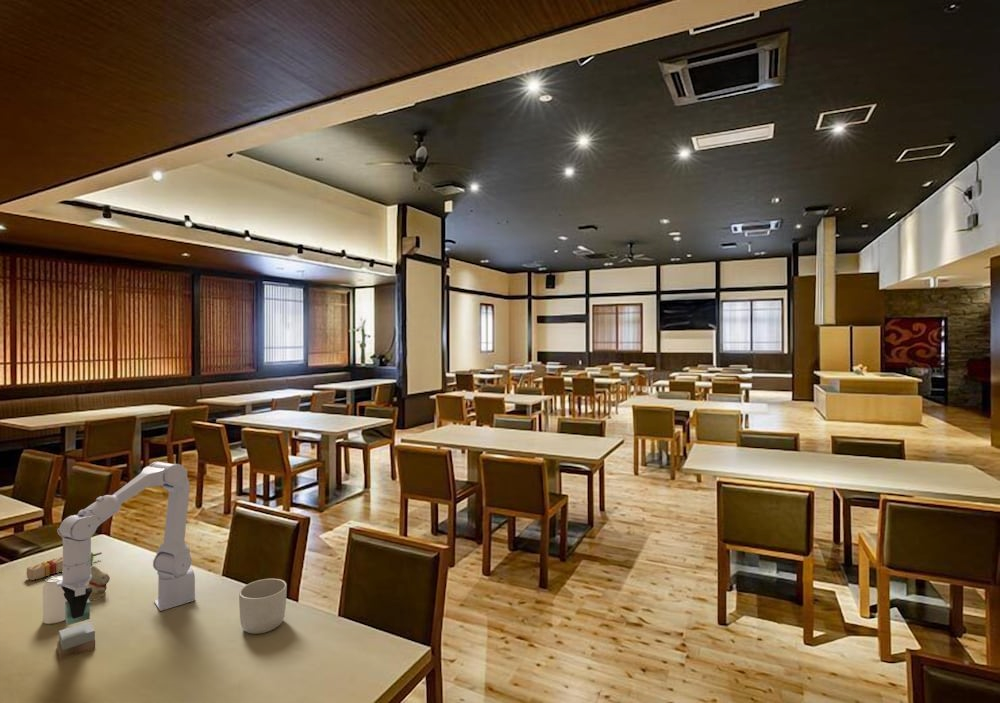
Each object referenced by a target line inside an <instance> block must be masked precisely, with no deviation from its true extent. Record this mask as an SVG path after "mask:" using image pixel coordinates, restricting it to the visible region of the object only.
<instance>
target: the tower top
mask: <svg viewBox="0 0 1000 703" xmlns="http://www.w3.org/2000/svg"><path fill="white" fill-rule="evenodd" d="M58 640H59V642H60V645H61V647H62V650H66V649H69V648H72V647H75V646H78V645H81V644H84V643H87V642H90V641H93V640H95V641H96V629H95V628H94V625H93V624H92V622H91V621H87V622H83V623H80V624H77V625H74V626H70V627H67V628H64V629H61V630H58Z"/></svg>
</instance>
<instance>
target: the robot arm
mask: <svg viewBox="0 0 1000 703" xmlns="http://www.w3.org/2000/svg"><path fill="white" fill-rule="evenodd" d="M159 486H160V487H162V488H163V489H165V490H166V491H167V492H168V497H167V498H168V499H167V505H166V506H167V507H166V518H165V525H164V534H163V543H162V544H160V545H159V546H158V547H157V552H156V555H155V556H154V559H153V560H152V567H153V568H154V570H155V571H157V576H158V578H157V579H158V583H157V584H158V588H157V590H158V591H157V592H158V593H157V599H154V601H153V602H154V603H155V604H154V605H155V606H156V607H157V608H158V610H159V612H161V611H165V610H169V609H171V608H175V607H179V606H181V605H184V604H188V603H190V602H191V603H192V602H195V601H196V597H195V596H196V577H195V576H196V575H195V572H194V570H193V568H191V567H192V556H191V553H190V552H191V549H190V547H189V546H188V544H187V543H186V541H185V537H186V529H187V520H188V519H187V517H188V510H189V509H188V507H189V499H190V486H191V483H190V481H189V478H188V469H187V468H186V467H184V466H183V465H182V464H180V463H169V462H164V461H163V462H162V461H159V460H158V461H154V462H152V463H151V464H149V465H147V466H145V467H143V469H142V471H141V472H140V473H139V474H137V475H136V476H135V477H134V478H133V479H131V480H130V481H128V483H126V484H124V485H123V486H122V487H121V488H119V489H118V490H117V491H115V492H114V493H113V494H105V495H103V496H101V495H100V496H98V497H97V498H96V499H95V502H93V503H91V504H89V505H88V506H87V507H85V508H84V509H80V510H79V511H78V513H77V514H73V515H69V516H67V517H66V518H64V520H62V521H61V523H60V524H59V527H58V528H57V529H56V532H57V534H58V535H59V536H60V537H61V538H62V557H63V572H62V574H63V580H62V581H59V582H57V583H56V585H57V587H60V586H61V588H62V589H63V591H64V592H65V593H64V597H65V598H66V600H67V601H68V603H69V606H70V611H71V615H72V618H73V619H74V618H78V617H81V616H83V614H84V611H85V607H86V603H87V600H88V598H89V596H90V594H91V593H92V590H93V589H92V587H91V588H87V589H86V586H87V584H88V583H89V581H90V580H91V578H92V575H91V567H92V563H91V552H92V537H93V535H95V533H96V531H97V529H98V527H99V526H101V524H103V523H104V522H106V521H108V519H110V518H111V517H113V516H114V515H115V514H116V513H118V512H119V511H120V510H121V507H122V506H121V505H122V504H124V503H125V502H127V501H129V499H131V498H133V497H135V496H136V495H138V494H140V493H141V492H142V491H144V490H145V489H146V488H149V487H159Z"/></svg>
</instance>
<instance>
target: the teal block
mask: <svg viewBox="0 0 1000 703" xmlns="http://www.w3.org/2000/svg"><path fill="white" fill-rule="evenodd" d="M90 601H91V600H89V599H88V600H87V603H86V607H85V611H84V614H83V616H81V617H78V618H74V619H73V618H72V615H71V611H70V606H69V603H68V601H66V602H65V619H66V620H65V622H66V626H70V625H74V624H77V623H80V622H84V621H87V620H90V618H91V617H90V616H91V611H90V610H91V606H90V605H91V602H90Z"/></svg>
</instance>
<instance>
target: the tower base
mask: <svg viewBox="0 0 1000 703" xmlns="http://www.w3.org/2000/svg"><path fill="white" fill-rule="evenodd" d="M56 649H57V653H58V658H59V660H61V661H62V660H64V659H68V658H71V657H73V656H76V655H77V656H78V655H79V654H83V653H85V652H88V651H91V650H95V649H96V639H95V640H93V641H90V642H87V643H84V644H81V645H78V646H75V647H72V648H69V649H66V650H62V647H61V645H60V642H59V639H58V640H56Z"/></svg>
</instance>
